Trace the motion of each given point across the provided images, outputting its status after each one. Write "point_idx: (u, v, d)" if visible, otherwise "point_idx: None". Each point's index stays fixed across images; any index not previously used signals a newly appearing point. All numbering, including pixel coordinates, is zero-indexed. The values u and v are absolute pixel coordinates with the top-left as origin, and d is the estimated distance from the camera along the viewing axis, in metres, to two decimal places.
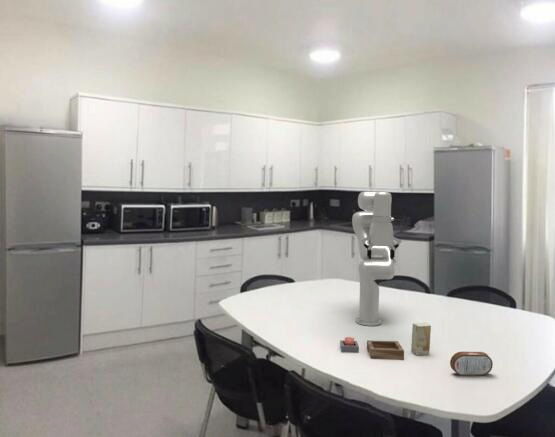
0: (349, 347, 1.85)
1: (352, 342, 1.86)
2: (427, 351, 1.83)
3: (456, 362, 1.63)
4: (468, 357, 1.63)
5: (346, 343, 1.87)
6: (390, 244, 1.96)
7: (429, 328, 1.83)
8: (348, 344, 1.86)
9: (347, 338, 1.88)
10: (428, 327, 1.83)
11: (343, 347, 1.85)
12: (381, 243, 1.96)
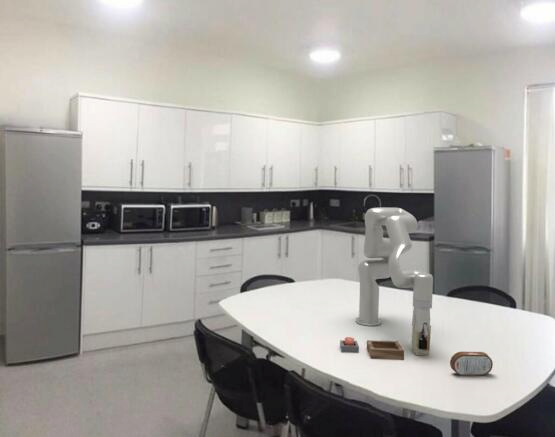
0: (349, 347, 1.85)
1: (352, 342, 1.86)
2: (427, 351, 1.83)
3: (456, 362, 1.63)
4: (468, 357, 1.63)
5: (346, 343, 1.87)
6: None
7: None
8: (348, 344, 1.86)
9: (347, 338, 1.88)
10: None
11: (343, 347, 1.85)
12: None
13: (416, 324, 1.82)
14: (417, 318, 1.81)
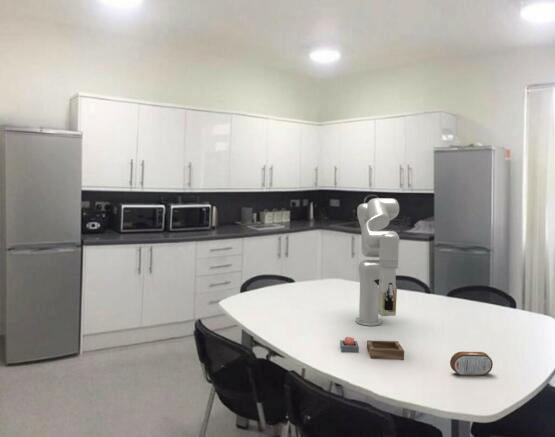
0: (349, 347, 1.85)
1: (352, 342, 1.86)
2: (393, 312, 1.81)
3: (456, 362, 1.63)
4: (468, 357, 1.63)
5: (346, 343, 1.87)
6: None
7: (395, 288, 1.80)
8: (348, 344, 1.86)
9: (347, 338, 1.88)
10: None
11: (343, 347, 1.85)
12: None
13: (382, 285, 1.79)
14: (383, 278, 1.78)
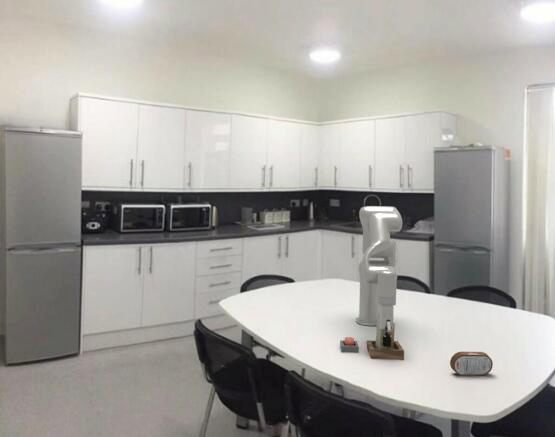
0: (349, 347, 1.85)
1: (352, 342, 1.86)
2: None
3: (456, 362, 1.63)
4: (468, 357, 1.63)
5: (346, 343, 1.87)
6: None
7: None
8: (348, 344, 1.86)
9: (347, 338, 1.88)
10: None
11: (343, 347, 1.85)
12: None
13: (380, 321, 1.80)
14: (380, 315, 1.79)
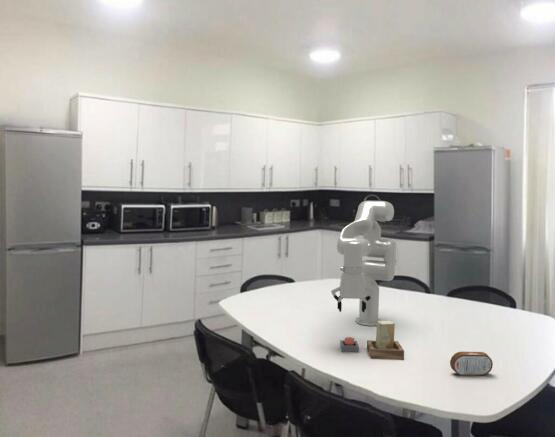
0: (349, 347, 1.85)
1: (352, 342, 1.86)
2: None
3: (456, 362, 1.63)
4: (468, 357, 1.63)
5: (346, 343, 1.87)
6: None
7: (392, 326, 1.82)
8: (348, 344, 1.86)
9: (347, 338, 1.88)
10: (392, 325, 1.81)
11: (343, 347, 1.85)
12: None
13: (359, 291, 1.83)
14: (361, 284, 1.83)
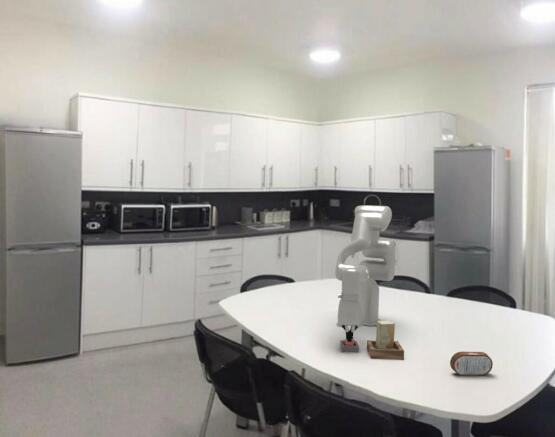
0: (349, 347, 1.85)
1: (352, 344, 1.86)
2: None
3: (456, 362, 1.63)
4: (468, 357, 1.63)
5: None
6: None
7: (392, 326, 1.82)
8: None
9: None
10: (392, 325, 1.81)
11: (343, 347, 1.85)
12: None
13: (357, 318, 1.84)
14: (359, 312, 1.84)
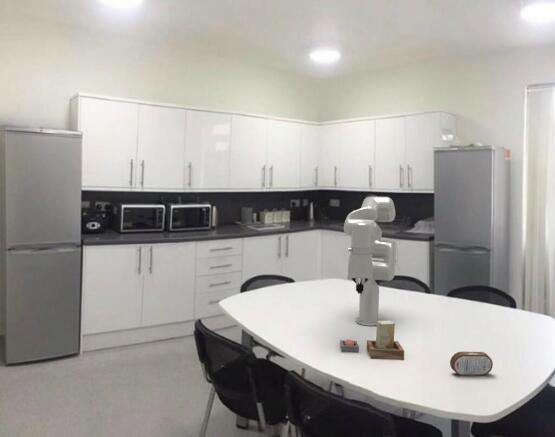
0: (349, 347, 1.85)
1: (352, 345, 1.87)
2: None
3: (456, 362, 1.63)
4: (468, 357, 1.63)
5: None
6: None
7: (392, 326, 1.82)
8: None
9: (347, 341, 1.88)
10: (392, 325, 1.81)
11: (343, 347, 1.85)
12: None
13: (367, 271, 1.89)
14: (369, 264, 1.88)
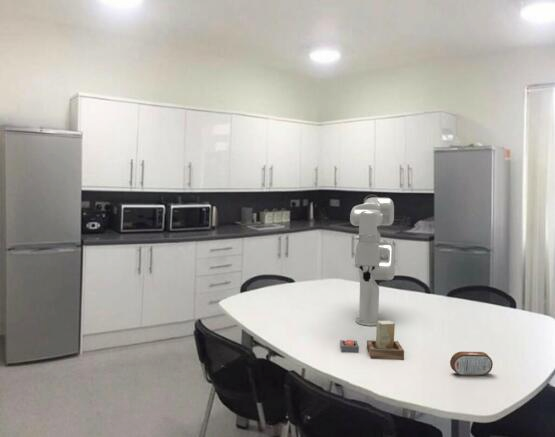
0: (349, 347, 1.85)
1: (352, 345, 1.87)
2: None
3: (456, 362, 1.63)
4: (468, 357, 1.63)
5: None
6: None
7: (392, 326, 1.82)
8: None
9: (347, 341, 1.88)
10: (392, 325, 1.81)
11: (343, 347, 1.85)
12: None
13: (374, 259, 1.92)
14: (376, 252, 1.92)
